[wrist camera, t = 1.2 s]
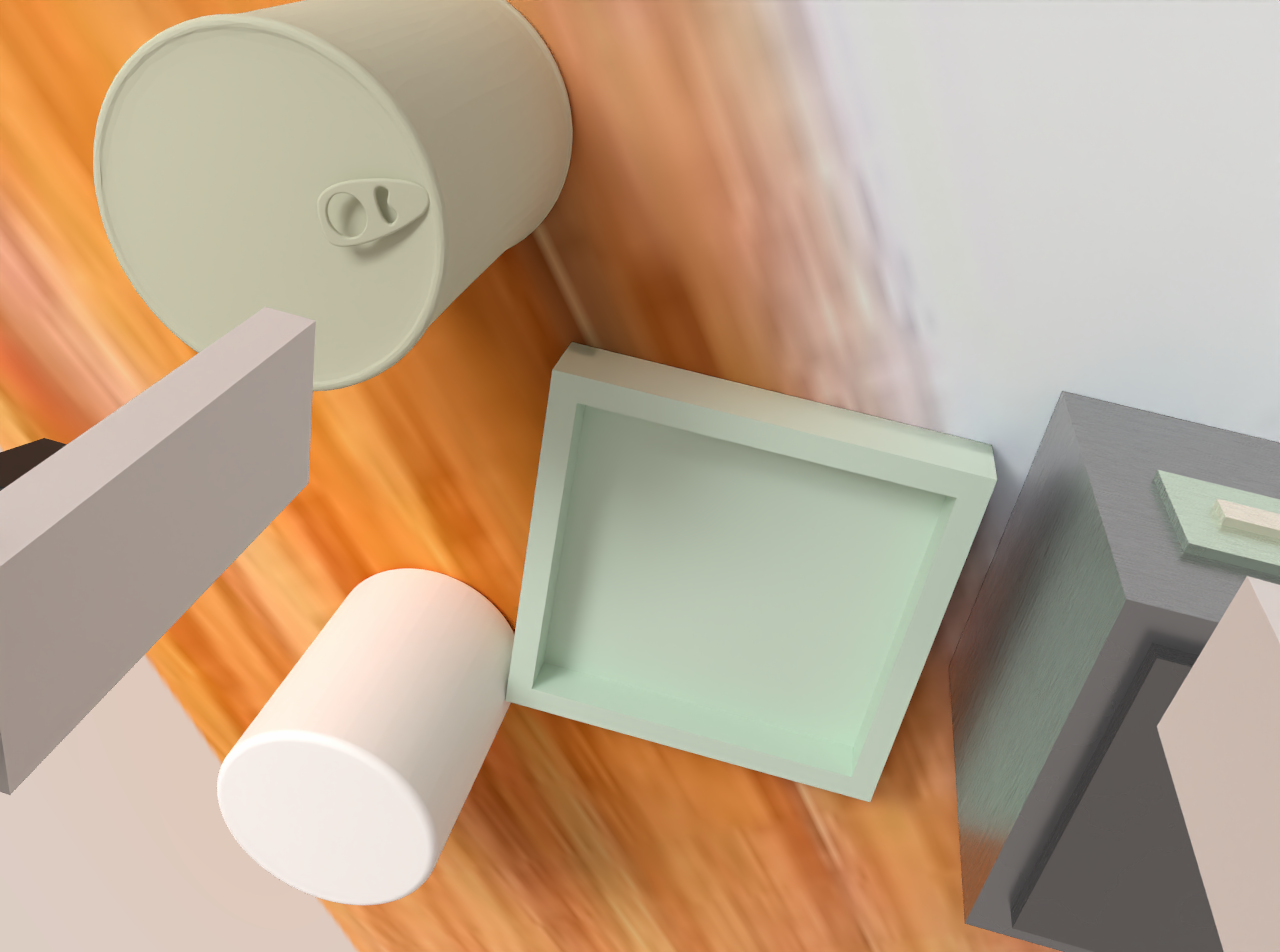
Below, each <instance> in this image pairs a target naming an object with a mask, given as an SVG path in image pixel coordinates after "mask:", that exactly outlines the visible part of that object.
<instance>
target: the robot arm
mask: <svg viewBox="0 0 1280 952" xmlns="http://www.w3.org/2000/svg"><path fill="white" fill-rule="evenodd" d="M315 326H316V321H315V320H311V319H308V318H304V317H300V316H297V315H293V314H289V313H286V312H282V311H278V310H275V309H271V308H268V307H264V308H263V309H261V310H260V311H259V312H257V313H256V314H254V315H253V316H251V317H250V318H248V319H247V320H246V321H244V322H243V323H241V324H240V325H238V326H237V327H236V328H234V329H233V330H231V331H230V332H228V333H227V334H225V335H224V336H223V337H221V338H220V339H218V340H217V341H215V342H214V343H213V344H211V345H210V346H208V347H207V348H205V349H204V350H202V351H201V352H200V353H198V354H197V355H195V356H194V357H192V358H191V359H190V360H188V361H187V362H185V363H184V364H182V365H181V366H179V367H178V368H177V369H175V370H174V371H172V372H171V373H169V374H168V375H167V376H165V377H164V378H162V379H161V380H159V381H158V382H156V383H155V384H154V385H152V386H151V387H149V388H148V389H146V390H145V391H143V392H142V393H141V394H139V395H138V396H136V397H135V398H133V399H132V400H131V401H129V402H128V403H126V404H125V405H123V406H122V407H120V408H119V409H118V410H116V411H115V412H113V413H112V414H110V415H109V416H108V417H106V418H105V419H103V420H102V421H100V422H99V423H97V424H96V425H95V426H93V427H92V428H90V429H89V430H87V431H86V432H85V433H83V434H82V435H80V436H79V437H77V438H76V439H74V440H73V441H72V442H70V443H69V444H63V443H60V442H56V441H53V440H49V439H46V438H43V439H40V440H37V441H34V442H31V443H28V444H25V445H22V446H19V447H16V448H13V449H10V450H7V451H4V452H1V453H0V792H3V793H6V794H9V795H10V794H11V793H12V792H13V791H14V790H15V789H16V788H17V787H18V786H19V785H20V784H21V783H22V782H23V781H24V780H25V778H27V777H28V776H29V775H30V773H31V772H32V771H33V770H34V769H35V768H36V767H37V766H38V765H39V764H40V763H41V762H42V761H43V760H44V759H45V758H46V757H47V756H48V755H49V754H50V753H51V752H52V751H53V749H54V748H55V747H56V746H57V745H58V744H59V743H60V742H61V741H62V740H63V739H64V738H65V737H66V736H67V735H68V734H69V733H70V732H71V731H72V730H73V729H74V728H75V726H76V725H77V724H78V723H79V722H80V721H81V720H82V719H83V718H84V717H85V716H86V715H87V714H88V713H89V712H90V711H91V710H92V709H93V708H94V707H95V706H96V705H97V704H98V702H99V701H100V700H101V699H102V698H103V697H104V696H105V695H106V694H107V693H108V692H109V691H110V690H111V689H112V688H113V687H114V686H115V685H116V684H117V683H118V681H120V680H121V679H122V677H123V676H124V675H125V674H126V673H127V672H128V671H129V670H130V669H131V668H132V667H133V666H134V665H135V664H136V663H137V662H138V661H139V660H140V659H141V658H142V657H143V656H144V654H145V653H146V652H147V651H148V650H149V649H150V648H151V647H152V646H153V645H154V644H155V643H156V642H157V641H158V640H159V639H160V638H161V637H162V636H163V635H164V634H165V633H166V632H167V630H168V629H169V628H170V627H171V626H172V625H173V624H174V623H175V622H176V621H177V620H178V619H179V618H180V617H181V616H182V615H183V614H184V613H185V612H186V611H187V610H188V609H189V608H190V606H191V605H192V604H193V603H194V602H195V601H196V600H197V599H198V598H199V597H200V596H201V595H202V594H203V593H204V592H205V591H206V590H207V589H208V588H209V587H210V586H211V585H212V583H213V582H214V581H215V580H216V579H217V578H218V577H219V576H220V575H221V574H222V573H223V572H224V571H225V570H226V569H227V568H228V567H229V566H230V565H231V564H232V563H233V562H234V561H235V559H236V558H237V557H238V556H239V555H240V554H241V553H242V552H243V551H244V550H245V549H246V548H247V547H248V546H249V545H250V544H251V543H252V542H253V541H254V540H255V539H256V538H257V537H258V535H259V534H260V533H261V532H262V531H263V530H264V529H265V528H266V527H267V526H268V525H269V524H270V523H271V522H272V521H273V520H274V519H275V518H276V517H277V516H278V515H279V514H280V512H281V511H282V510H283V509H284V508H285V507H286V506H287V505H288V504H289V503H290V502H291V501H292V500H293V499H294V498H295V497H296V496H297V495H298V494H299V493H300V492H301V491H302V490H303V488H304V487H305V486H306V485H307V484H308V482H309V460H310V437H311V415H312V393H313V371H314V349H315ZM1157 729H1158V732H1159V736H1160V739H1161V743H1162V746H1163V749H1164V753H1165V756H1166V759H1167V763H1168V766H1169V769H1170V773H1171V776H1172V780H1173V783H1174V786H1175V790H1176V793H1177V796H1178V800H1179V803H1180V806H1181V810H1182V813H1183V816H1184V820H1185V823H1186V827H1187V830H1188V833H1189V837H1190V840H1191V843H1192V847H1193V850H1194V853H1195V857H1196V860H1197V864H1198V867H1199V870H1200V874H1201V877H1202V880H1203V884H1204V887H1205V890H1206V894H1207V897H1208V901H1209V904H1210V907H1211V911H1212V914H1213V917H1214V921H1215V924H1216V927H1217V931H1218V934H1219V937H1220V941H1221V944H1222V948H1223V951H1224V952H1280V585H1278V584H1275V583H1271V582H1267V581H1264V580H1260V579H1256V578H1253V577H1249V576H1247V577H1246V578H1245V580H1244V582H1243V583H1242V585H1241V587H1240V588H1239V590H1238V592H1237V593H1236V595H1235V597H1234V598H1233V600H1232V602H1231V603H1230V605H1229V607H1228V608H1227V610H1226V612H1225V613H1224V615H1223V617H1222V618H1221V620H1220V622H1219V623H1218V625H1217V627H1216V628H1215V630H1214V632H1213V633H1212V635H1211V637H1210V638H1209V640H1208V642H1207V643H1206V645H1205V647H1204V648H1203V650H1202V652H1201V653H1200V655H1199V657H1198V658H1197V660H1196V662H1195V663H1194V665H1193V667H1192V668H1191V670H1190V672H1189V673H1188V675H1187V677H1186V678H1185V680H1184V682H1183V683H1182V685H1181V687H1180V688H1179V690H1178V692H1177V693H1176V695H1175V697H1174V698H1173V700H1172V702H1171V703H1170V705H1169V707H1168V708H1167V710H1166V712H1165V713H1164V715H1163V717H1162V719H1161V720H1160V722H1159V724H1158V725H1157Z"/></svg>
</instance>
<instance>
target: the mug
mask: <svg viewBox="0 0 1280 952" xmlns="http://www.w3.org/2000/svg"><path fill="white" fill-rule="evenodd" d="M514 636H515V635H514V632H513V630H512V629H511V627H510V625H509V623H508V622H507V620H506V619H505V618H504V616H503V615H502V614H501V612H500V611H499V610H498V609H497V608H496V607H495V606H494V605H493V604H492V603H491V602H490V601H489V600H488V599H487V598H486V597H484V596H483V595H482V594H481V593H479V592H478V591H476V590H475V589H473V588H472V587H470V586H469V585H467V584H465V583H463V582H461V581H459V580H457V579H455V578H452V577H450V576H447V575H444V574H441V573H438V572H434V571H430V570H424V569H414V568H403V569H394V570H388V571H384V572H381V573H378V574H376V575H373V576H371V577H369V578H367V579H366V580H364V581H363V582H361V583H360V584H359V585H357V586H356V587H355V588H354V589H353V590H352V591H351V592H350V594H349V595H348V596H347V598H346V599H345V600H344V602H343V603H342V604H341V605H340V607H339V608H338V609H337V611H336V612H335V613H334V615H333V616H332V617H331V619H330V620H329V621H328V623H327V624H326V625H325V627H324V628H323V629H322V631H321V632H320V633H319V635H318V636H317V637H316V639H315V640H314V641H313V642H312V644H311V645H310V646H309V648H308V649H307V650H306V652H305V653H304V654H303V656H302V657H301V658H300V660H299V661H298V662H297V664H296V665H295V666H294V668H293V669H292V670H291V672H290V673H289V674H288V676H287V677H286V678H285V680H284V681H283V682H282V683H281V685H280V686H279V687H278V689H277V690H276V691H275V693H274V694H273V695H272V697H271V698H270V699H269V701H268V702H267V703H266V705H265V706H264V707H263V709H262V710H261V711H260V713H259V714H258V715H257V717H256V718H255V719H254V721H253V722H252V723H251V724H250V726H249V727H248V728H247V730H246V731H245V732H244V734H243V735H242V736H241V738H240V739H239V740H238V742H237V743H236V744H235V746H234V747H233V748H232V750H231V751H230V752H229V754H228V755H227V756H226V758H225V760H224V762H223V763H222V766H221V768H220V771H219V776H218V781H217V796H218V802H219V806H220V810H221V813H222V815H223V818H224V820H225V822H226V825H227V826H228V828H229V830H230V832H231V833H232V835H233V836H234V838H235V839H236V841H237V842H238V843H239V845H240V846H241V847H242V848H243V849H244V851H245V852H246V853H247V854H248V855H249V856H250V857H251V858H252V859H253V860H254V861H255V862H256V863H258V864H259V865H260V866H261V867H263V868H264V869H265V870H266V871H268V872H269V873H270V874H272V875H273V876H275V877H276V878H278V879H279V880H281V881H283V882H284V883H286V884H288V885H290V886H292V887H294V888H296V889H298V890H300V891H302V892H304V893H307V894H309V895H312V896H315V897H318V898H321V899H324V900H328V901H332V902H337V903H342V904H350V905H376V904H383V903H388V902H392V901H395V900H398V899H401V898H403V897H405V896H407V895H409V894H411V893H412V892H414V891H415V890H417V889H418V888H419V887H420V886H421V885H422V884H423V883H424V882H425V881H426V880H427V879H428V877H429V876H430V874H431V873H432V871H433V869H434V867H435V865H436V863H437V861H438V859H439V856H440V854H441V852H442V850H443V848H444V846H445V844H446V841H447V839H448V837H449V835H450V833H451V831H452V828H453V826H454V824H455V822H456V820H457V818H458V816H459V813H460V811H461V809H462V807H463V805H464V803H465V801H466V798H467V796H468V794H469V792H470V790H471V788H472V785H473V783H474V781H475V779H476V777H477V775H478V773H479V770H480V768H481V766H482V764H483V762H484V760H485V757H486V755H487V753H488V751H489V749H490V747H491V745H492V742H493V740H494V738H495V736H496V734H497V732H498V730H499V727H500V725H501V723H502V721H503V719H504V717H505V714H506V712H507V710H508V708H509V706H510V704H511V702H508V701H505V699H506V692H507V685H508V678H509V671H510V664H511V657H512V650H513V643H514Z"/></svg>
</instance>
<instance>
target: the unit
mask: <svg viewBox="0 0 1280 952" xmlns="http://www.w3.org/2000/svg"><path fill="white" fill-rule="evenodd" d="M1247 576H1249V577H1253V578H1256V579H1260V580H1264V581H1267V582H1271V583H1275V584H1278V585H1280V443H1277V442H1273V441H1269V440H1265V439H1261V438H1256V437H1252V436H1248V435H1244V434H1240V433H1236V432H1231V431H1227V430H1223V429H1219V428H1215V427H1211V426H1206V425H1202V424H1198V423H1194V422H1190V421H1185V420H1181V419H1177V418H1173V417H1169V416H1165V415H1160V414H1156V413H1152V412H1148V411H1144V410H1140V409H1135V408H1131V407H1127V406H1123V405H1119V404H1115V403H1110V402H1106V401H1102V400H1098V399H1094V398H1089V397H1085V396H1081V395H1077V394H1073V393H1069V392H1064V391H1062V393H1061V395H1060V398H1059V400H1058V402H1057V405H1056V407H1055V410H1054V412H1053V415H1052V417H1051V419H1050V422H1049V424H1048V427H1047V429H1046V432H1045V434H1044V437H1043V439H1042V441H1041V444H1040V446H1039V449H1038V451H1037V454H1036V456H1035V458H1034V461H1033V463H1032V466H1031V468H1030V471H1029V473H1028V475H1027V478H1026V480H1025V483H1024V485H1023V488H1022V490H1021V493H1020V495H1019V497H1018V500H1017V502H1016V505H1015V507H1014V510H1013V512H1012V514H1011V517H1010V519H1009V522H1008V524H1007V527H1006V529H1005V531H1004V534H1003V536H1002V539H1001V541H1000V544H999V546H998V548H997V551H996V553H995V556H994V558H993V561H992V563H991V566H990V568H989V570H988V573H987V575H986V578H985V580H984V583H983V585H982V587H981V590H980V592H979V595H978V597H977V600H976V602H975V604H974V607H973V609H972V612H971V614H970V617H969V619H968V622H967V624H966V626H965V629H964V631H963V634H962V636H961V639H960V641H959V643H958V646H957V648H956V651H955V653H954V656H953V658H952V660H951V663H950V665H949V674H950V691H951V707H952V723H953V740H954V756H955V773H956V789H957V805H958V822H959V838H960V855H961V871H962V887H963V904H964V920H965V924H969V925H972V926H976V927H979V928H983V929H986V930H990V931H993V932H997V933H1000V934H1004V935H1007V936H1011V937H1014V938H1018V939H1021V940H1025V941H1028V942H1032V943H1035V944H1039V945H1042V946H1046V947H1049V948H1053V949H1056V950H1060V951H1063V952H1224V951H1223V948H1222V944H1221V941H1220V937H1219V934H1218V931H1217V927H1216V924H1215V921H1214V917H1213V914H1212V911H1211V907H1210V904H1209V901H1208V897H1207V894H1206V890H1205V887H1204V884H1203V880H1202V877H1201V874H1200V870H1199V867H1198V864H1197V860H1196V857H1195V853H1194V850H1193V847H1192V843H1191V840H1190V837H1189V833H1188V830H1187V827H1186V823H1185V820H1184V816H1183V813H1182V810H1181V806H1180V803H1179V800H1178V796H1177V793H1176V790H1175V786H1174V783H1173V780H1172V776H1171V773H1170V769H1169V766H1168V763H1167V759H1166V756H1165V753H1164V749H1163V746H1162V743H1161V739H1160V736H1159V732H1158V729H1157V725H1158V724H1159V722H1160V720H1161V719H1162V717H1163V715H1164V713H1165V712H1166V710H1167V708H1168V707H1169V705H1170V703H1171V702H1172V700H1173V698H1174V697H1175V695H1176V693H1177V692H1178V690H1179V688H1180V687H1181V685H1182V683H1183V682H1184V680H1185V678H1186V677H1187V675H1188V673H1189V672H1190V670H1191V668H1192V667H1193V665H1194V663H1195V662H1196V660H1197V658H1198V657H1199V655H1200V653H1201V652H1202V650H1203V648H1204V647H1205V645H1206V643H1207V642H1208V640H1209V638H1210V637H1211V635H1212V633H1213V632H1214V630H1215V628H1216V627H1217V625H1218V623H1219V622H1220V620H1221V618H1222V617H1223V615H1224V613H1225V612H1226V610H1227V608H1228V607H1229V605H1230V603H1231V602H1232V600H1233V598H1234V597H1235V595H1236V593H1237V592H1238V590H1239V588H1240V587H1241V585H1242V583H1243V582H1244V580H1245V578H1246V577H1247Z"/></svg>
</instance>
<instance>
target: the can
mask: <svg viewBox="0 0 1280 952" xmlns="http://www.w3.org/2000/svg"><path fill="white" fill-rule="evenodd" d="M572 143H573V128H572V116H571V109H570V103H569V99H568V94H567V91H566V87H565V84H564V81H563V78H562V76H561V73H560V71H559V68H558V66H557V64H556V62H555V60H554V58H553V56H552V54H551V52H550V50H549V49H548V47H547V45H546V44H545V42H544V41H543V39H542V38H541V37H540V35H539V34H538V33H537V31H536V30H535V28H534V27H533V26H532V25H531V24H530V23H529V22H528V21H527V20H526V18H525V17H524V16H523V15H522V14H521V13H520V12H519V11H518V10H516V9H515V8H514V7H513V6H512V5H511V4H510V3H508V2H507V1H506V0H304V1H300V2H295V3H290V4H285V5H280V6H275V7H270V8H265V9H260V10H255V11H250V12H245V13H239V14H217V15H210V16H203V17H199V18H195V19H191V20H187V21H185V22H182V23H180V24H177V25H175V26H173V27H170V28H168V29H166V30H164V31H162V32H161V33H159V34H157V35H156V36H155V37H153V38H152V39H150V40H149V41H147V42H146V43H145V44H143V45H142V46H141V47H140V48H139V49H138V50H137V51H136V52H135V53H134V54H133V55H132V56H131V57H130V58H129V59H128V60H127V61H126V62H125V64H124V65H123V67H122V68H121V69H120V71H119V72H118V74H117V75H116V77H115V78H114V80H113V82H112V84H111V86H110V88H109V90H108V92H107V94H106V96H105V99H104V101H103V103H102V107H101V110H100V114H99V117H98V120H97V126H96V133H95V140H94V153H93V171H94V184H95V191H96V196H97V200H98V205H99V210H100V214H101V218H102V221H103V225H104V228H105V231H106V234H107V236H108V239H109V241H110V243H111V246H112V248H113V250H114V252H115V254H116V256H117V259H118V261H119V263H120V265H121V267H122V268H123V270H124V272H125V273H126V275H127V277H128V278H129V280H130V281H131V283H132V285H133V286H134V288H135V290H136V291H137V292H138V294H139V295H140V296H141V298H142V299H143V300H144V301H145V303H146V304H147V305H148V307H149V308H150V309H151V310H152V312H153V313H154V314H155V315H156V316H157V317H158V318H159V319H160V320H161V321H162V322H163V323H164V324H165V326H166V327H168V328H169V329H170V330H171V331H172V332H173V333H174V334H175V335H176V336H177V337H178V338H180V339H181V340H182V341H183V342H184V343H186V344H187V345H188V346H190V347H191V348H192V349H194V350H195V351H196V352H198V353H200V352H201V351H202V350H204V349H205V348H207V347H208V346H210V345H211V344H213V343H214V342H215V341H217V340H218V339H220V338H221V337H223V336H224V335H225V334H227V333H228V332H230V331H231V330H233V329H234V328H236V327H237V326H238V325H240V324H241V323H243V322H244V321H246V320H247V319H248V318H250V317H251V316H253V315H254V314H256V313H257V312H259V311H260V310H261V309H263V308H264V307H268V308H271V309H275V310H278V311H282V312H286V313H289V314H293V315H297V316H300V317H304V318H308V319H311V320H315V321H316V326H315V349H314V371H313V391H327V390H334V389H340V388H344V387H348V386H352V385H355V384H358V383H360V382H363V381H366V380H368V379H370V378H373V377H375V376H377V375H379V374H380V373H382V372H384V371H385V370H387V369H388V368H390V367H392V366H393V365H394V364H396V363H397V362H398V361H399V360H401V359H402V358H403V357H404V356H405V355H406V354H407V353H408V352H409V351H410V350H411V349H412V348H413V347H414V345H415V344H416V343H417V342H418V341H419V340H420V338H421V337H422V336H423V334H424V333H425V331H426V330H427V328H428V327H429V326H430V325H431V324H432V323H433V322H434V321H435V320H436V319H437V318H438V317H439V316H440V315H441V314H442V312H443V311H444V310H445V309H446V308H447V307H448V306H449V305H450V304H451V303H452V302H453V301H454V300H455V299H456V298H457V297H458V296H459V295H460V294H461V293H462V292H463V291H464V290H465V289H466V288H467V287H468V286H469V285H470V284H471V283H472V282H473V281H474V280H475V279H477V278H478V277H479V276H480V275H481V274H482V273H483V272H484V271H485V270H486V269H487V268H488V267H489V266H490V265H491V264H492V263H493V262H494V261H495V260H496V259H497V258H498V257H499V256H500V255H501V254H502V253H503V252H504V251H506V250H507V249H509V248H511V247H513V246H514V245H516V244H517V243H519V242H520V241H522V240H523V239H525V238H526V237H527V236H528V235H529V234H530V233H532V232H533V231H534V230H535V229H536V228H537V227H538V226H539V225H540V224H541V223H542V221H543V220H544V219H545V218H546V216H547V215H548V214H549V212H550V211H551V209H552V208H553V206H554V204H555V203H556V201H557V199H558V197H559V195H560V193H561V191H562V188H563V186H564V183H565V180H566V177H567V173H568V169H569V165H570V159H571V153H572Z"/></svg>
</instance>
